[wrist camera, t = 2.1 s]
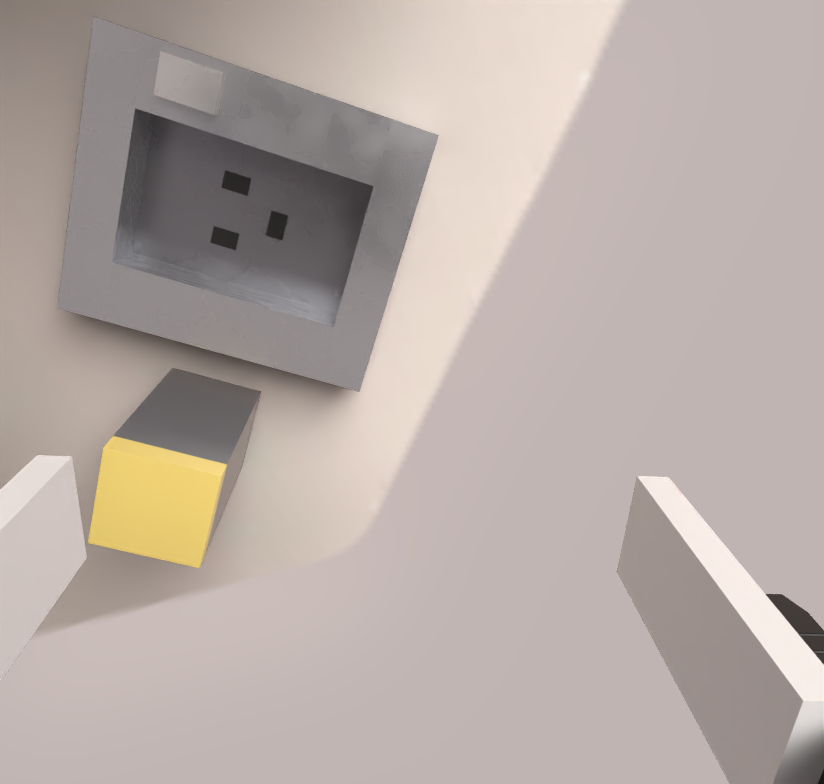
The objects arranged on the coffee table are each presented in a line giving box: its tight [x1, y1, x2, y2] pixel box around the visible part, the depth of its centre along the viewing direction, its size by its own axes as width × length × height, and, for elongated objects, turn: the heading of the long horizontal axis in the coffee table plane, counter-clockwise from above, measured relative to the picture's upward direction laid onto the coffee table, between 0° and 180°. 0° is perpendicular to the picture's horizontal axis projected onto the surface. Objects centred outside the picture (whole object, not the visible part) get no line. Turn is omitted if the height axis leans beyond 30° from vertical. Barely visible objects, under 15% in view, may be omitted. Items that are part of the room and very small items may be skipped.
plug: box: [88, 368, 261, 568], centre depth 31 cm, size 5×5×9 cm
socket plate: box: [57, 16, 439, 392], centre depth 29 cm, size 14×12×4 cm
